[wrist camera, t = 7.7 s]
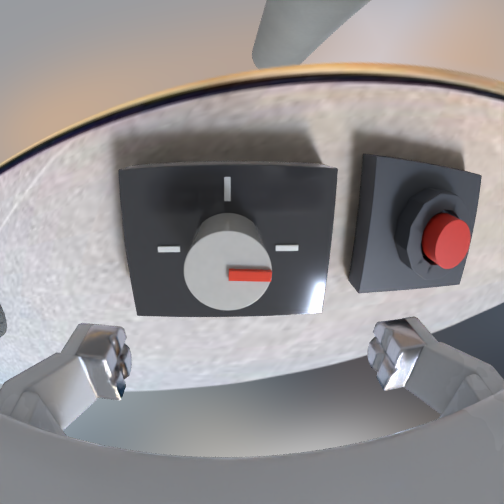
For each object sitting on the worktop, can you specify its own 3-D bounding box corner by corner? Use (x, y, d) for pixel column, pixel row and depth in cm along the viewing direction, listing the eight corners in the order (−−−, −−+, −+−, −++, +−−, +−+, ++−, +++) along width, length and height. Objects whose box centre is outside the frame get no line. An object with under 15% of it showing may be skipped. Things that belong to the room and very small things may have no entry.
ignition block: (362, 153, 19) (390, 158, 15) (465, 171, 20) (496, 179, 16) (348, 280, 23) (367, 306, 19) (446, 274, 24) (470, 293, 20)
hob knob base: (133, 165, 18) (117, 169, 15) (323, 163, 19) (339, 168, 16) (146, 295, 22) (136, 317, 19) (311, 292, 23) (322, 314, 20)
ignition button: (426, 211, 17) (441, 218, 16) (460, 214, 18) (474, 220, 16) (416, 260, 19) (430, 270, 17) (450, 259, 19) (463, 268, 17)
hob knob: (192, 279, 18) (184, 312, 15) (191, 211, 17) (181, 231, 13) (261, 281, 19) (268, 314, 15) (266, 214, 17) (276, 234, 14)
